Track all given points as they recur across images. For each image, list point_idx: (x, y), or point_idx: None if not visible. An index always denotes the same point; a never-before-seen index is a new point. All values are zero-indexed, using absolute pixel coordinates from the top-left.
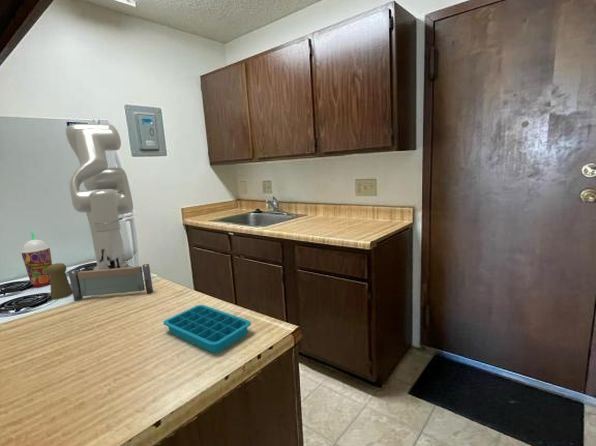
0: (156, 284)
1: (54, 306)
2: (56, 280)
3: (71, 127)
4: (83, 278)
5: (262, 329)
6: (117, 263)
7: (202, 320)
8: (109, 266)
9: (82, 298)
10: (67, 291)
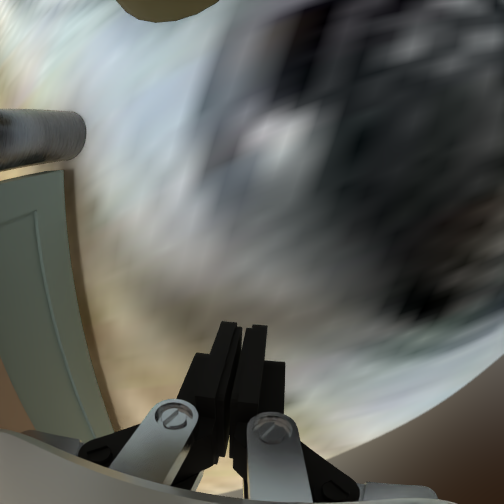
0: (215, 468)
1: (21, 62)
2: None
3: None
4: None
5: None
6: (243, 482)
7: None
8: (129, 437)
9: (64, 160)
10: (131, 5)
